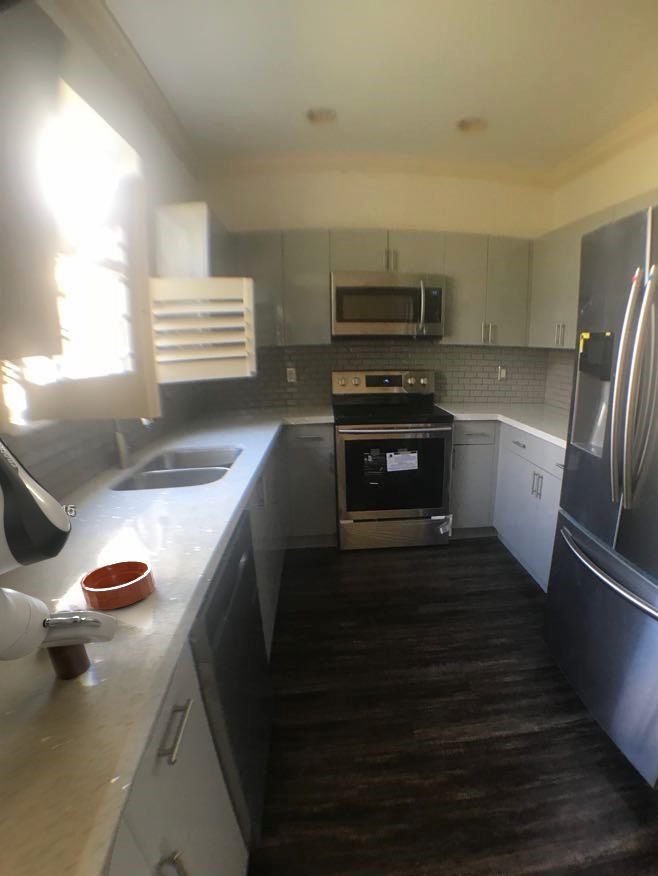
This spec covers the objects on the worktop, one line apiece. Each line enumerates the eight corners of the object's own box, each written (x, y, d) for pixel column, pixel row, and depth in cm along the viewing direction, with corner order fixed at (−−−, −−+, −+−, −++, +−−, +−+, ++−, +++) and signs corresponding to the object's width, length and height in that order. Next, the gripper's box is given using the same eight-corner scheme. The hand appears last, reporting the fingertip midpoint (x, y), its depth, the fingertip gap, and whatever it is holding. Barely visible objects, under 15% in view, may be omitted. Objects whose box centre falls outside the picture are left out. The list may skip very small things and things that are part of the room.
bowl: (80, 617, 90) (73, 596, 88) (94, 586, 102) (88, 566, 100) (152, 603, 94) (147, 582, 92) (157, 574, 106) (153, 555, 104)
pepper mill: (52, 682, 73) (31, 624, 69) (60, 664, 78) (40, 607, 73) (86, 675, 75) (67, 617, 71) (92, 656, 79) (75, 601, 75)
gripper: (93, 595, 65) (134, 614, 77) (-67, 609, 62) (3, 626, 75) (86, 641, 62) (130, 653, 75) (-80, 657, 60) (-5, 667, 72)
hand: (66, 640), depth 75 cm, fingers closed on pepper mill, 5 cm apart
